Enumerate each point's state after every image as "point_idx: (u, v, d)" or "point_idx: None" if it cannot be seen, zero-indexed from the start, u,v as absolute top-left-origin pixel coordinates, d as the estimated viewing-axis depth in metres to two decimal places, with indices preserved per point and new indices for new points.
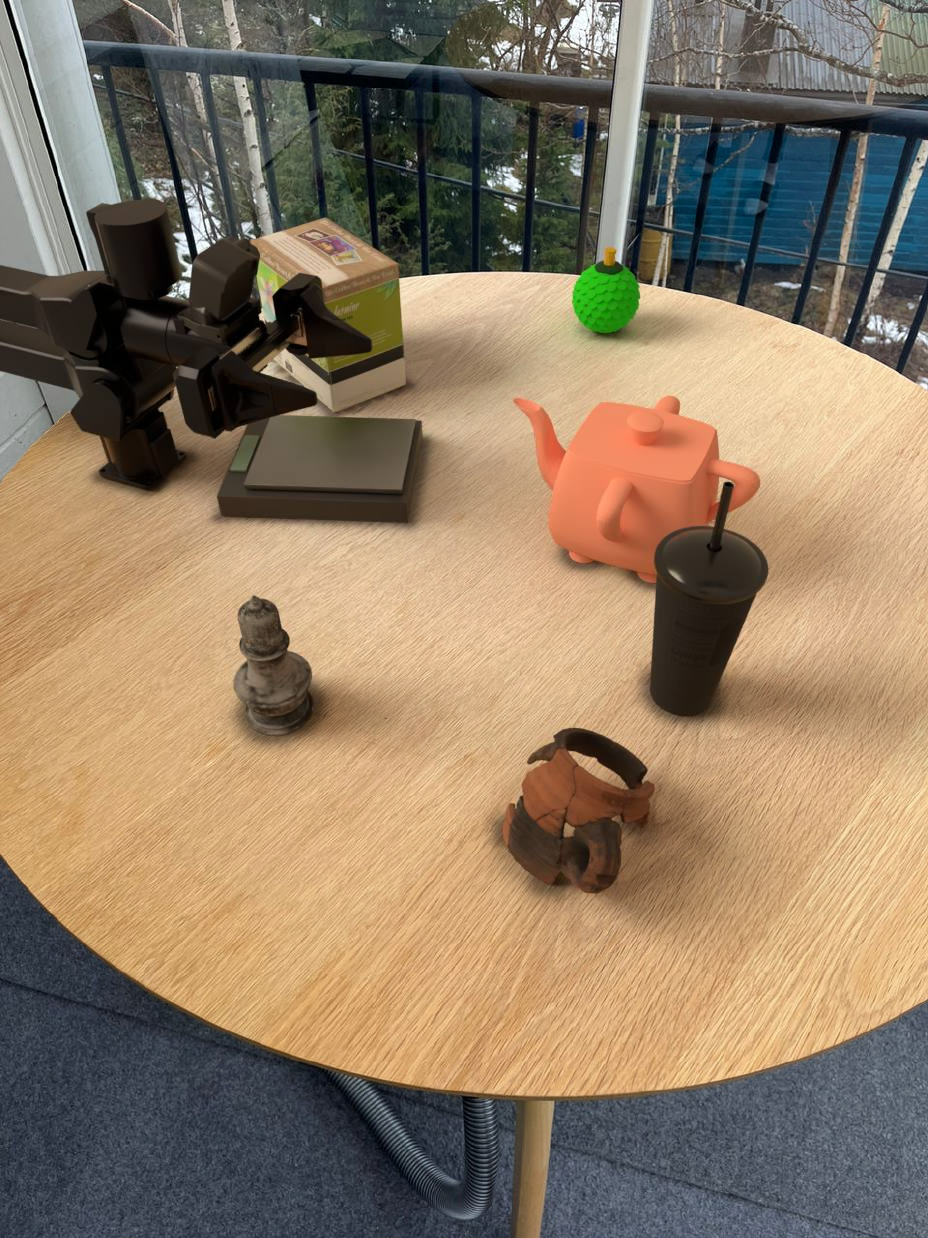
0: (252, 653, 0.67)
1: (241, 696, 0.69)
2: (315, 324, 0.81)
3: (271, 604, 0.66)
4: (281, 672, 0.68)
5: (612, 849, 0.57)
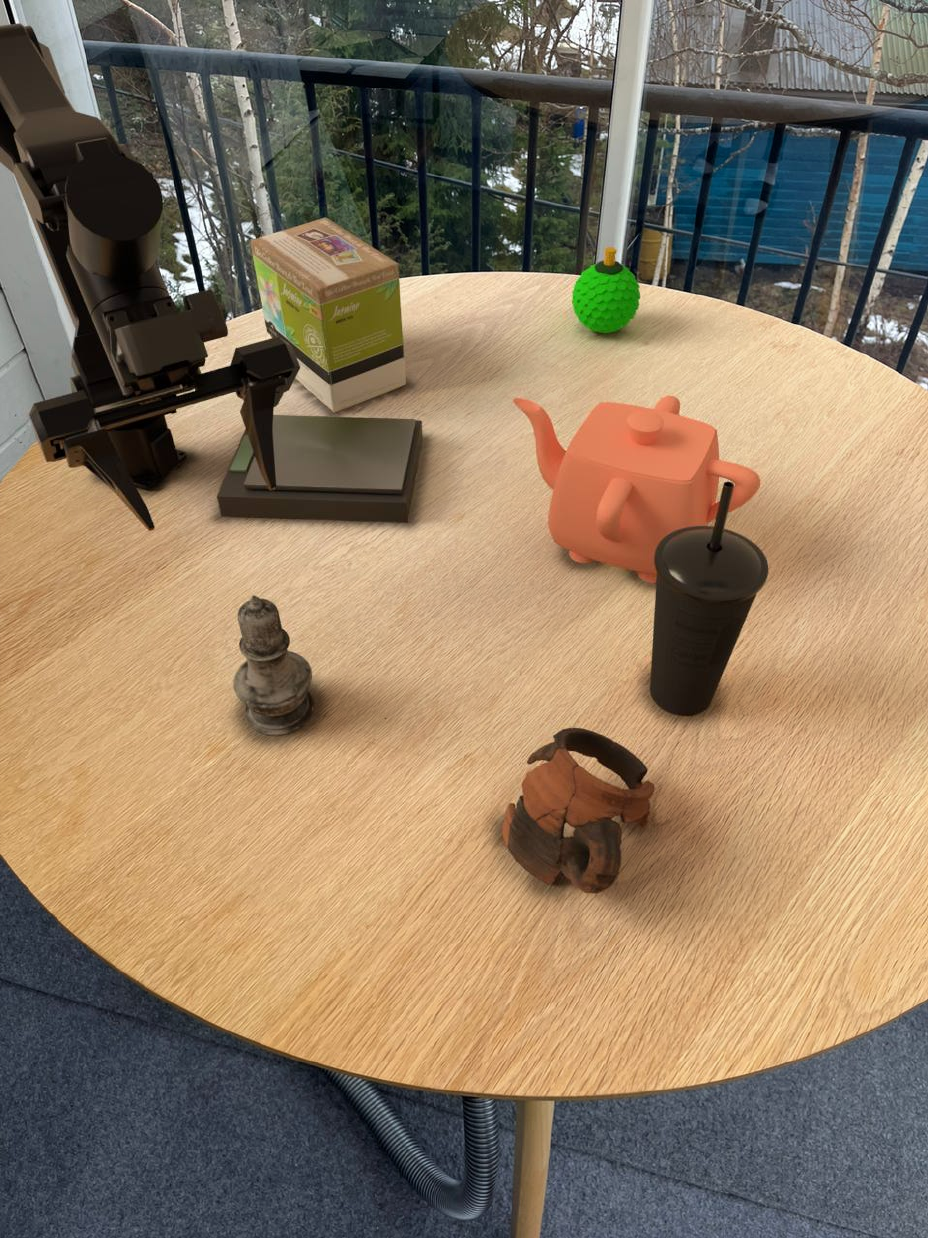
0: (252, 653, 0.67)
1: (241, 696, 0.69)
2: (250, 414, 0.69)
3: (271, 604, 0.66)
4: (281, 672, 0.68)
5: (612, 849, 0.57)
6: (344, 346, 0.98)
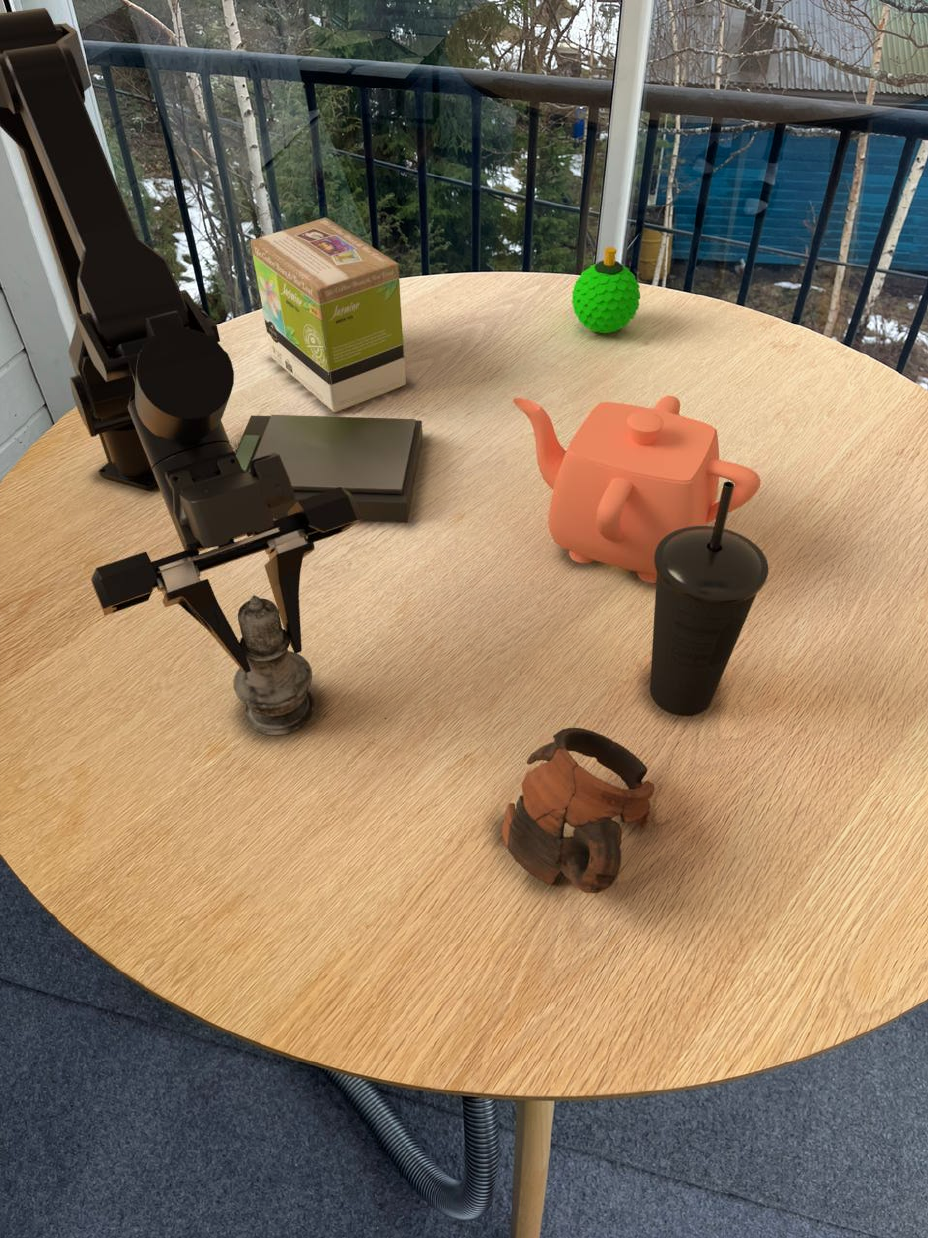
0: (252, 653, 0.67)
1: (241, 696, 0.69)
2: (276, 577, 0.67)
3: (271, 604, 0.66)
4: (281, 672, 0.68)
5: (611, 849, 0.57)
6: (344, 346, 0.98)
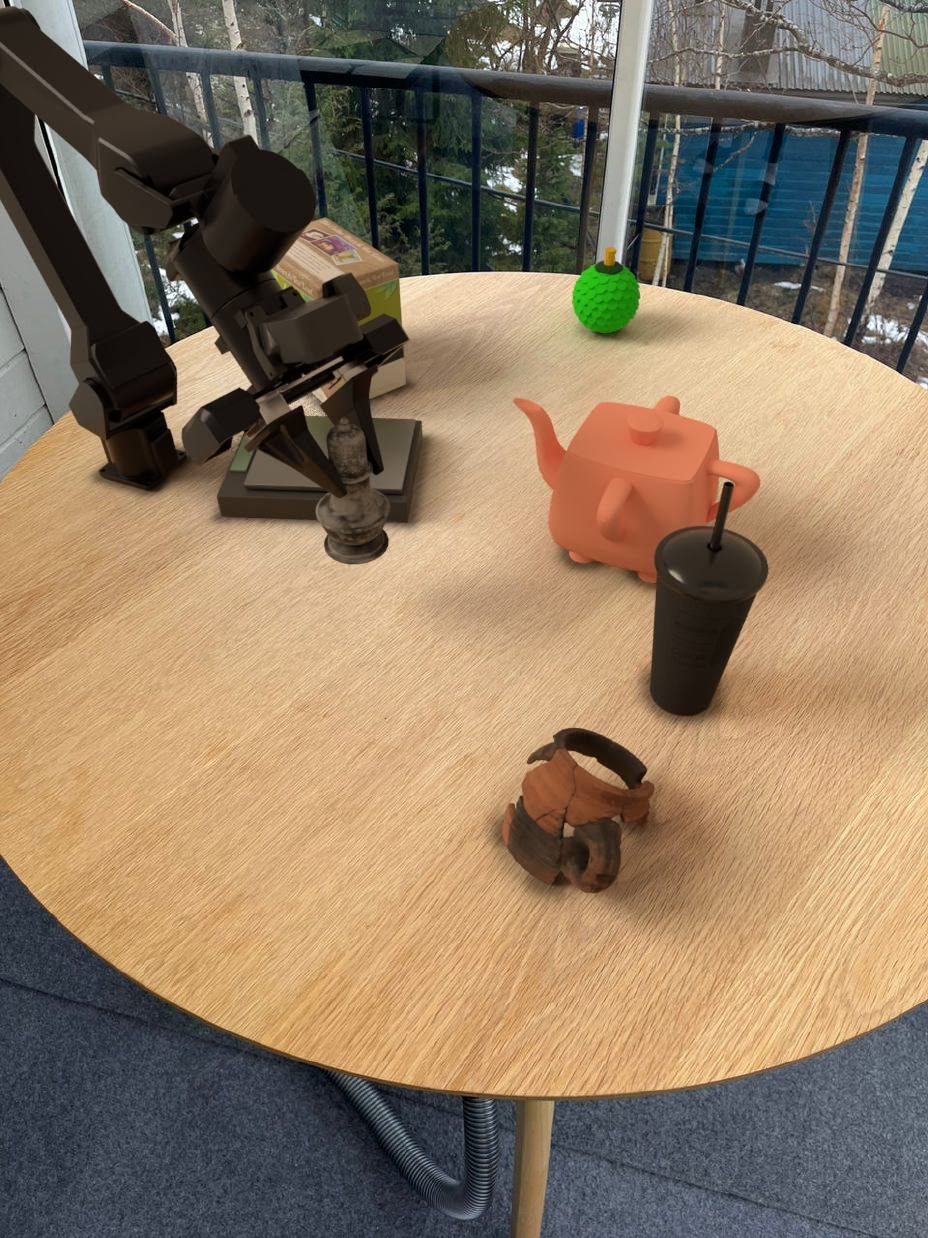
0: (344, 477, 0.70)
1: (333, 527, 0.72)
2: (347, 404, 0.71)
3: None
4: (367, 495, 0.72)
5: (611, 849, 0.57)
6: None
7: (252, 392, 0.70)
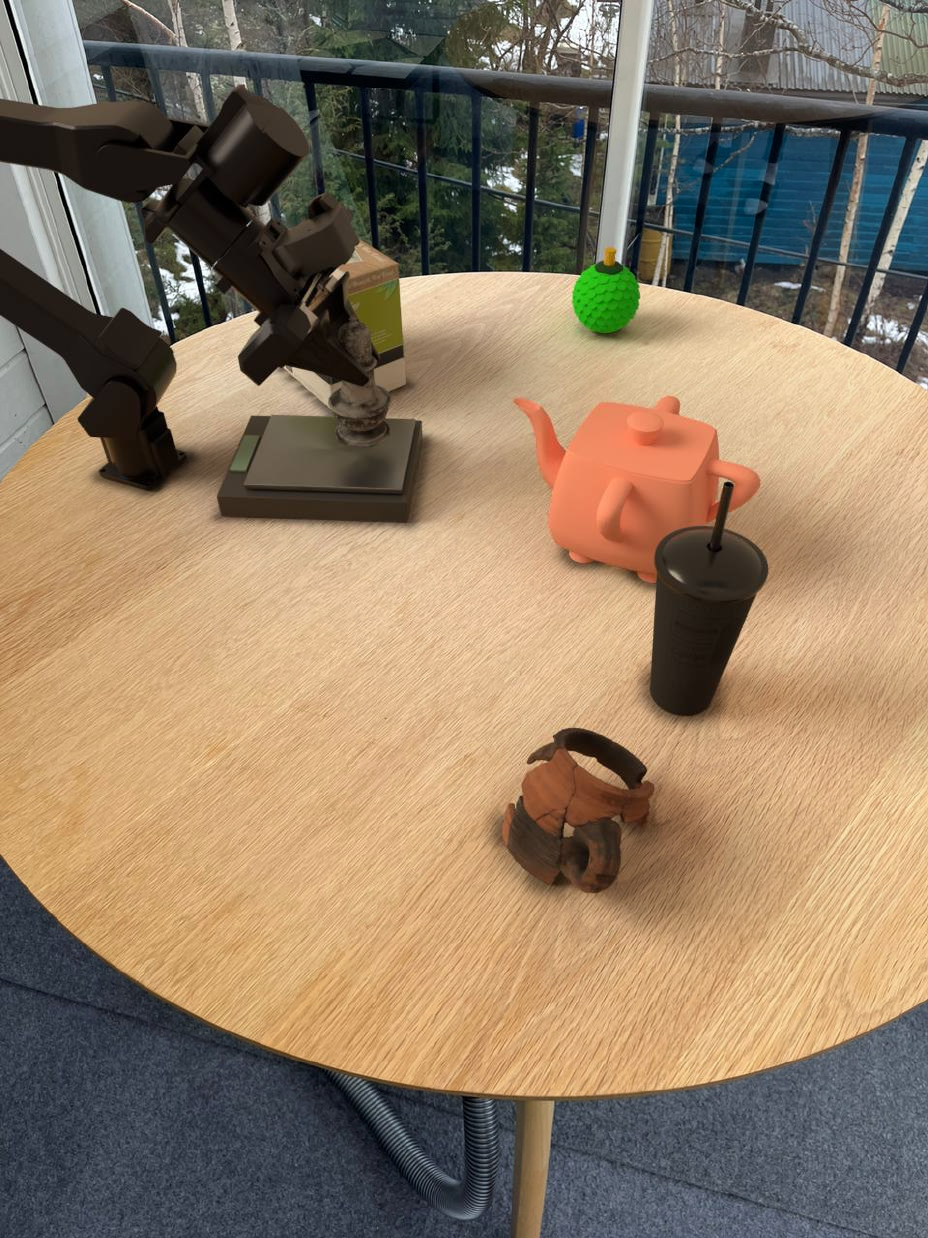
0: None
1: (359, 414, 0.85)
2: (336, 310, 0.84)
3: None
4: (374, 381, 0.86)
5: (611, 849, 0.57)
6: None
7: (262, 318, 0.80)
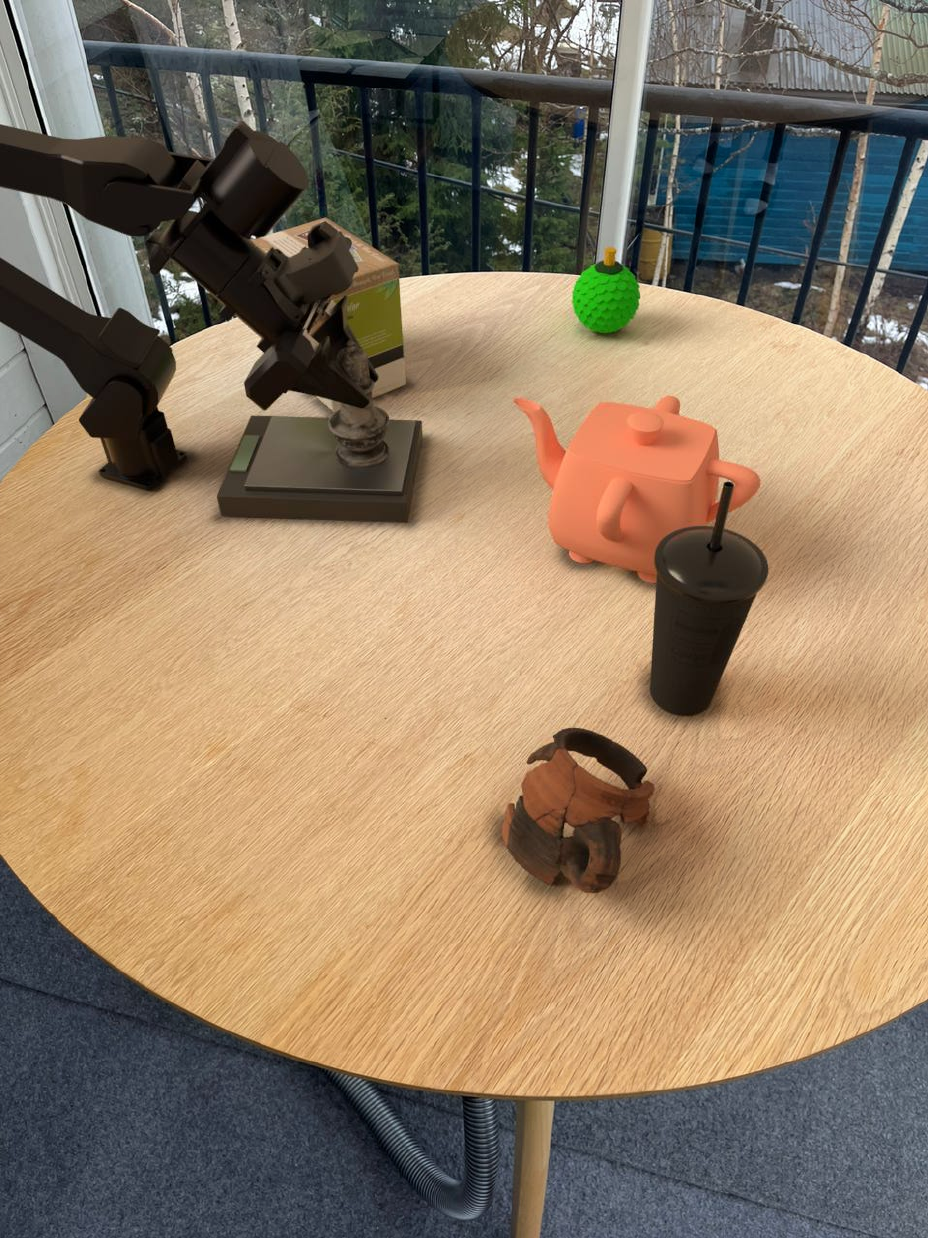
0: None
1: (359, 435, 0.88)
2: (335, 334, 0.86)
3: (355, 346, 0.85)
4: (372, 402, 0.89)
5: (611, 849, 0.57)
6: None
7: (265, 344, 0.82)
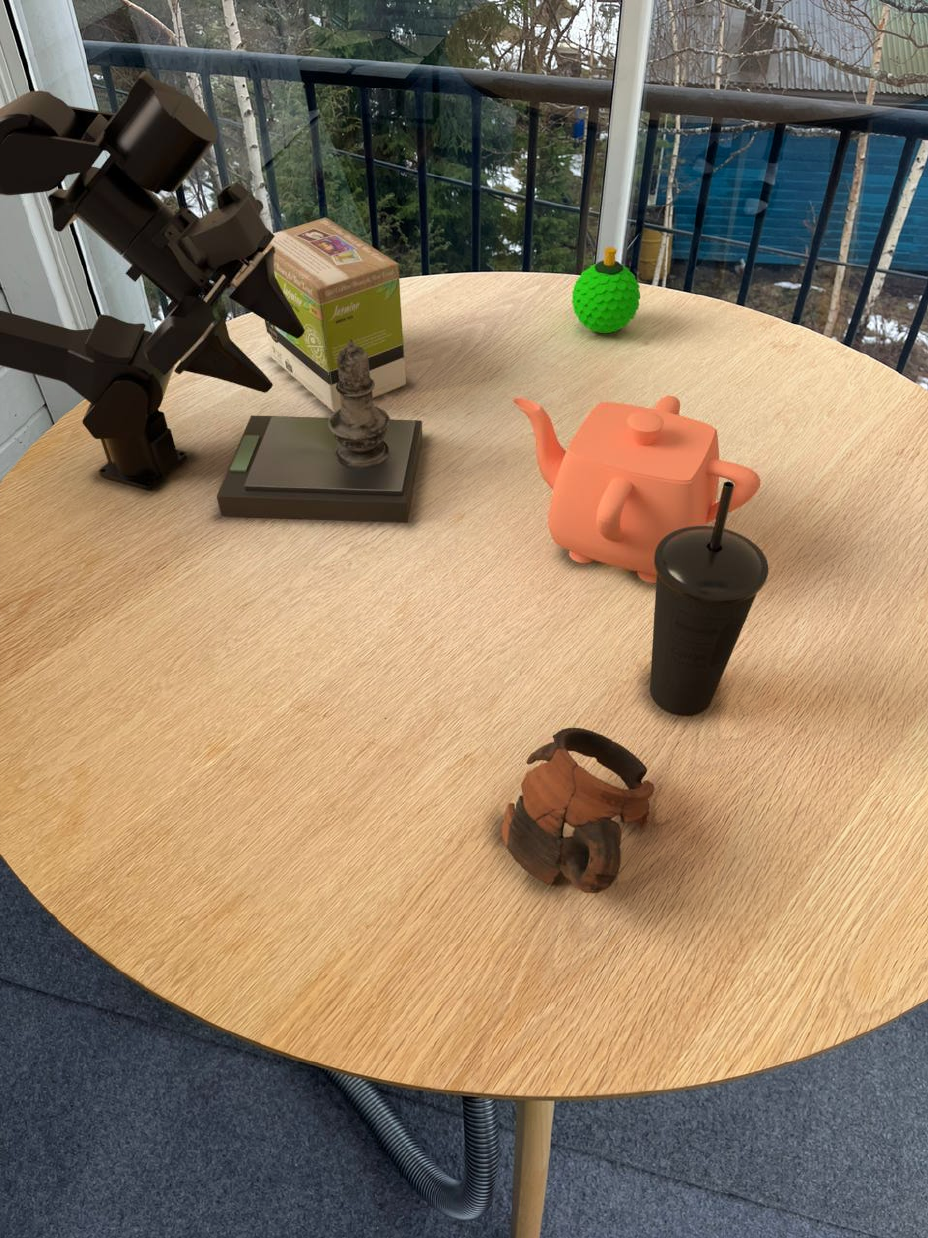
0: (360, 390, 0.86)
1: (359, 436, 0.88)
2: (260, 285, 0.86)
3: (355, 346, 0.85)
4: (373, 403, 0.89)
5: (611, 849, 0.57)
6: (344, 346, 0.98)
7: (173, 307, 0.81)
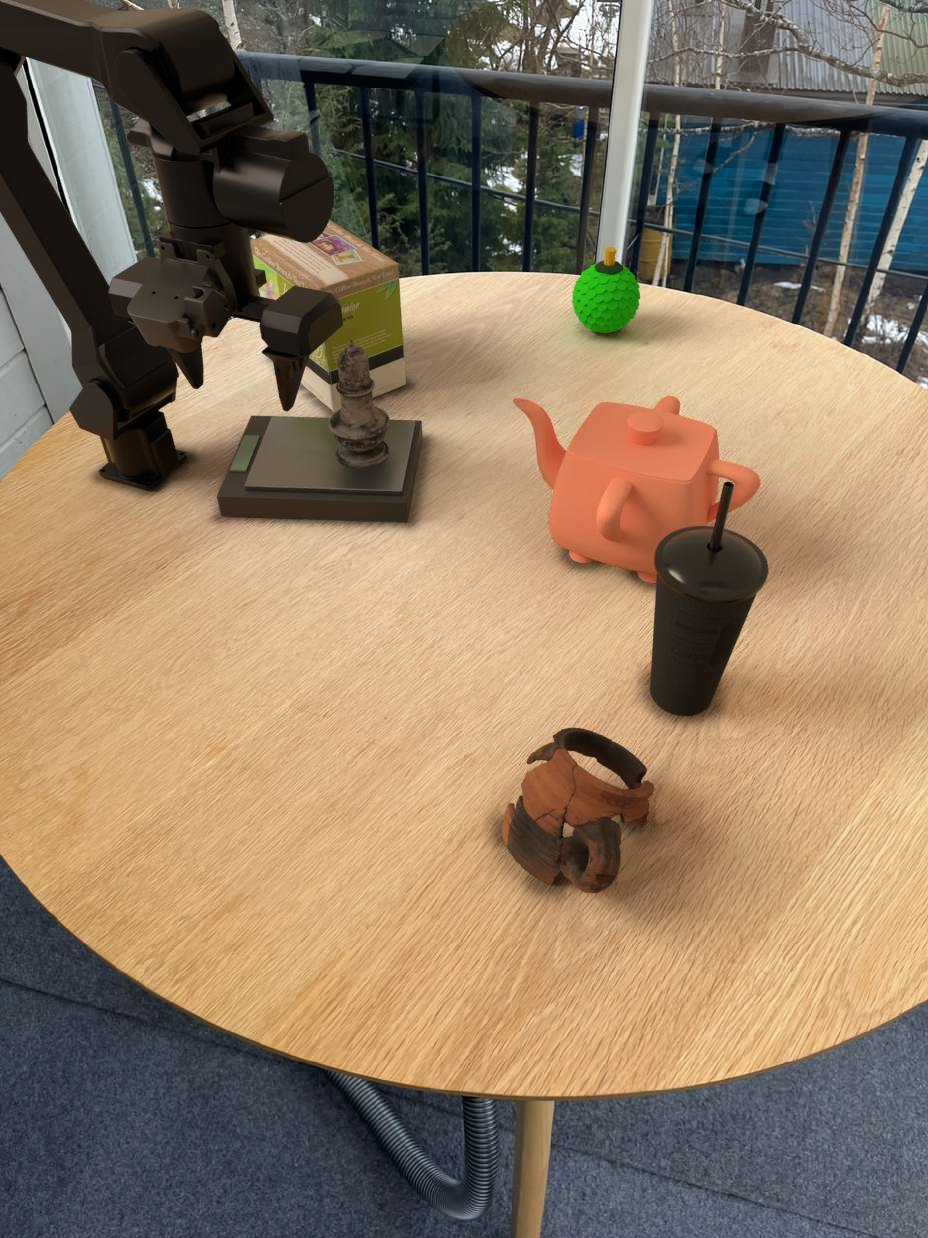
0: (360, 390, 0.86)
1: (359, 436, 0.88)
2: None
3: (355, 346, 0.85)
4: (373, 403, 0.89)
5: (611, 849, 0.57)
6: (344, 346, 0.98)
7: None
